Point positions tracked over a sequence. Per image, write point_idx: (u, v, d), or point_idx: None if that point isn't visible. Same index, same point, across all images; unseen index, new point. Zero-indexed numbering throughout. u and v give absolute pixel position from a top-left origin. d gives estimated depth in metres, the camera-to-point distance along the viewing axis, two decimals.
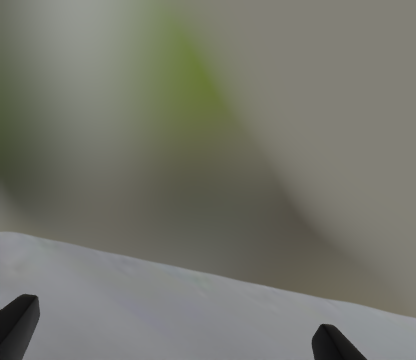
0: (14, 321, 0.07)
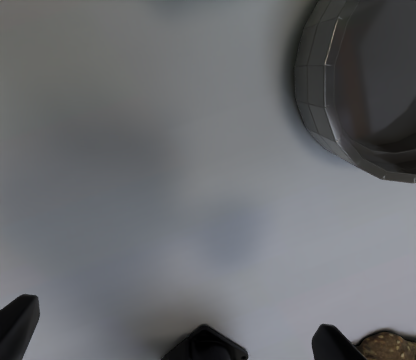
0: (14, 321, 0.07)
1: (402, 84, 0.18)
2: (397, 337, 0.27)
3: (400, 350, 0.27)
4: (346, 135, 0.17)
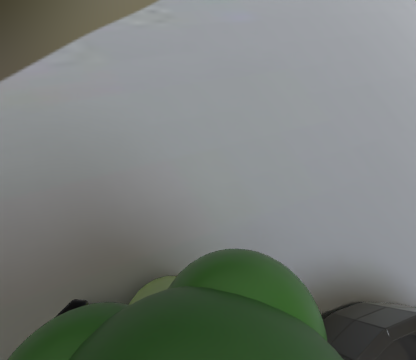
0: None
1: None
2: None
3: None
4: None
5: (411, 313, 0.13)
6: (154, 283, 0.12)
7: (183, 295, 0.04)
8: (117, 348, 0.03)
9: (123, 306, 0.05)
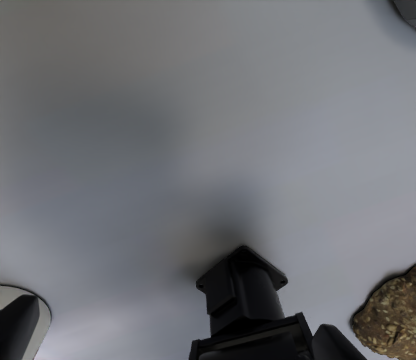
0: (14, 321, 0.07)
1: None
2: None
3: None
4: None
5: None
6: None
7: None
8: None
9: None
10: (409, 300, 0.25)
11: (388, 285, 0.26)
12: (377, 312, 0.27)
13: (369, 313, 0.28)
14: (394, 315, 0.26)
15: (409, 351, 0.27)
